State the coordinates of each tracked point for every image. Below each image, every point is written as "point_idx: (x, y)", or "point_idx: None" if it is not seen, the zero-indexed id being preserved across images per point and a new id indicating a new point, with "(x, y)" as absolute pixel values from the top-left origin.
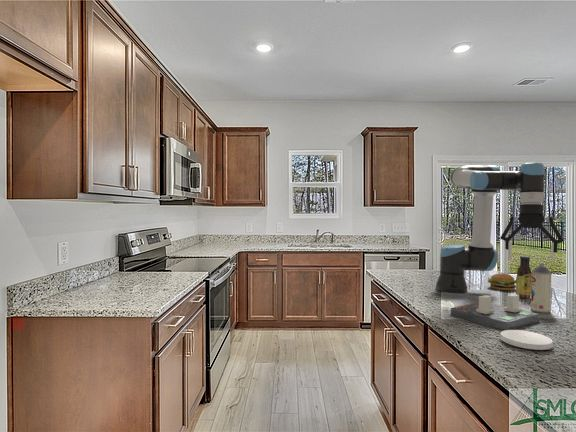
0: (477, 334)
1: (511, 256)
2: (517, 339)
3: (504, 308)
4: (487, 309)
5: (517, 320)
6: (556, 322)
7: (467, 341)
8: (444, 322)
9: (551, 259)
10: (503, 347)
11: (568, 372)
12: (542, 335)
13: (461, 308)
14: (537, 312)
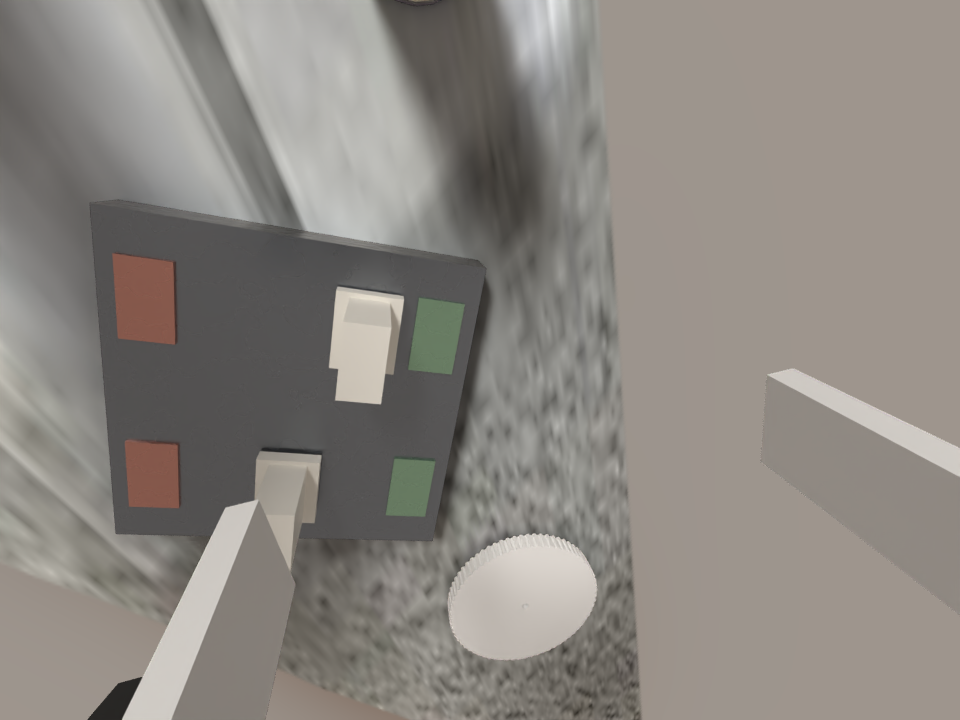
0: (374, 625)
1: (252, 518)
2: (513, 644)
3: (332, 366)
4: (304, 501)
5: (446, 467)
6: (547, 196)
7: (387, 693)
8: None
9: (788, 476)
10: (481, 657)
11: (633, 673)
12: (562, 554)
13: (161, 506)
14: (412, 4)
